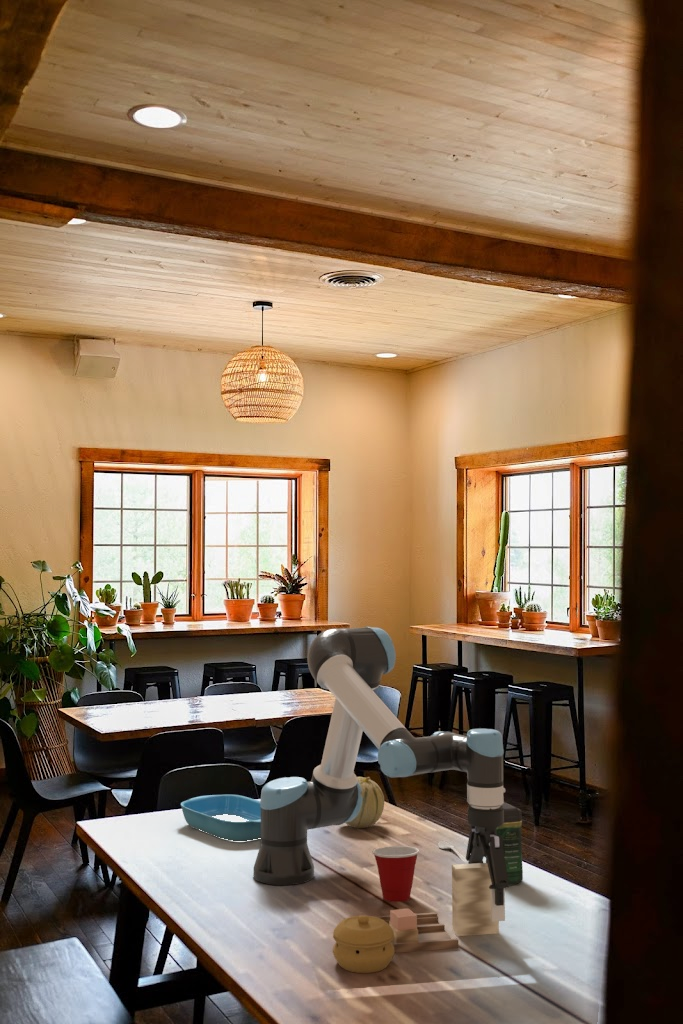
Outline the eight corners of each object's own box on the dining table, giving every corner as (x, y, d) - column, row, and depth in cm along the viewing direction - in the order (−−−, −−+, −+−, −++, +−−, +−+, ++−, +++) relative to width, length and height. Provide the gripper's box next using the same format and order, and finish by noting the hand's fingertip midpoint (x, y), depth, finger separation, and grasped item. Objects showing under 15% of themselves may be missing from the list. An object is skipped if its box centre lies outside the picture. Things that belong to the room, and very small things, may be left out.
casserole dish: (301, 836, 280) (301, 811, 281) (238, 851, 266) (238, 824, 266) (228, 813, 308) (229, 790, 308) (167, 825, 293) (167, 801, 294)
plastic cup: (407, 892, 230) (406, 840, 231) (428, 906, 220) (427, 852, 221) (365, 898, 226) (364, 845, 227) (384, 912, 216) (383, 857, 217)
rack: (394, 958, 190) (394, 944, 190) (377, 929, 206) (377, 916, 206) (458, 953, 192) (458, 939, 193) (436, 925, 208) (436, 912, 208)
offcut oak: (396, 947, 193) (396, 931, 193) (389, 936, 199) (389, 921, 199) (418, 945, 194) (418, 930, 194) (410, 934, 199) (410, 919, 200)
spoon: (448, 845, 271) (448, 839, 271) (480, 866, 252) (480, 860, 252) (434, 846, 270) (434, 840, 270) (466, 868, 250) (466, 861, 250)
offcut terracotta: (398, 930, 194) (398, 917, 194) (390, 922, 198) (390, 910, 198) (417, 928, 195) (416, 915, 195) (408, 920, 199) (408, 908, 199)
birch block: (456, 938, 199) (456, 868, 200) (452, 933, 202) (451, 864, 203) (498, 936, 200) (497, 866, 201) (494, 930, 203) (493, 862, 204)
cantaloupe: (338, 820, 298) (338, 770, 299) (386, 821, 296) (386, 771, 297) (331, 832, 283) (331, 780, 284) (381, 834, 281) (381, 781, 282)
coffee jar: (527, 884, 236) (526, 806, 237) (498, 887, 233) (497, 808, 235) (510, 872, 245) (509, 797, 246) (481, 875, 243) (480, 800, 244)
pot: (403, 977, 181) (402, 922, 182) (342, 985, 178) (342, 929, 178) (382, 954, 192) (382, 902, 193) (325, 961, 189) (325, 908, 190)
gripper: (524, 818, 191) (526, 929, 190) (483, 791, 216) (484, 889, 215) (487, 820, 190) (489, 931, 189) (451, 792, 215) (452, 891, 213)
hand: (486, 909), depth 202 cm, fingers open, 13 cm apart
